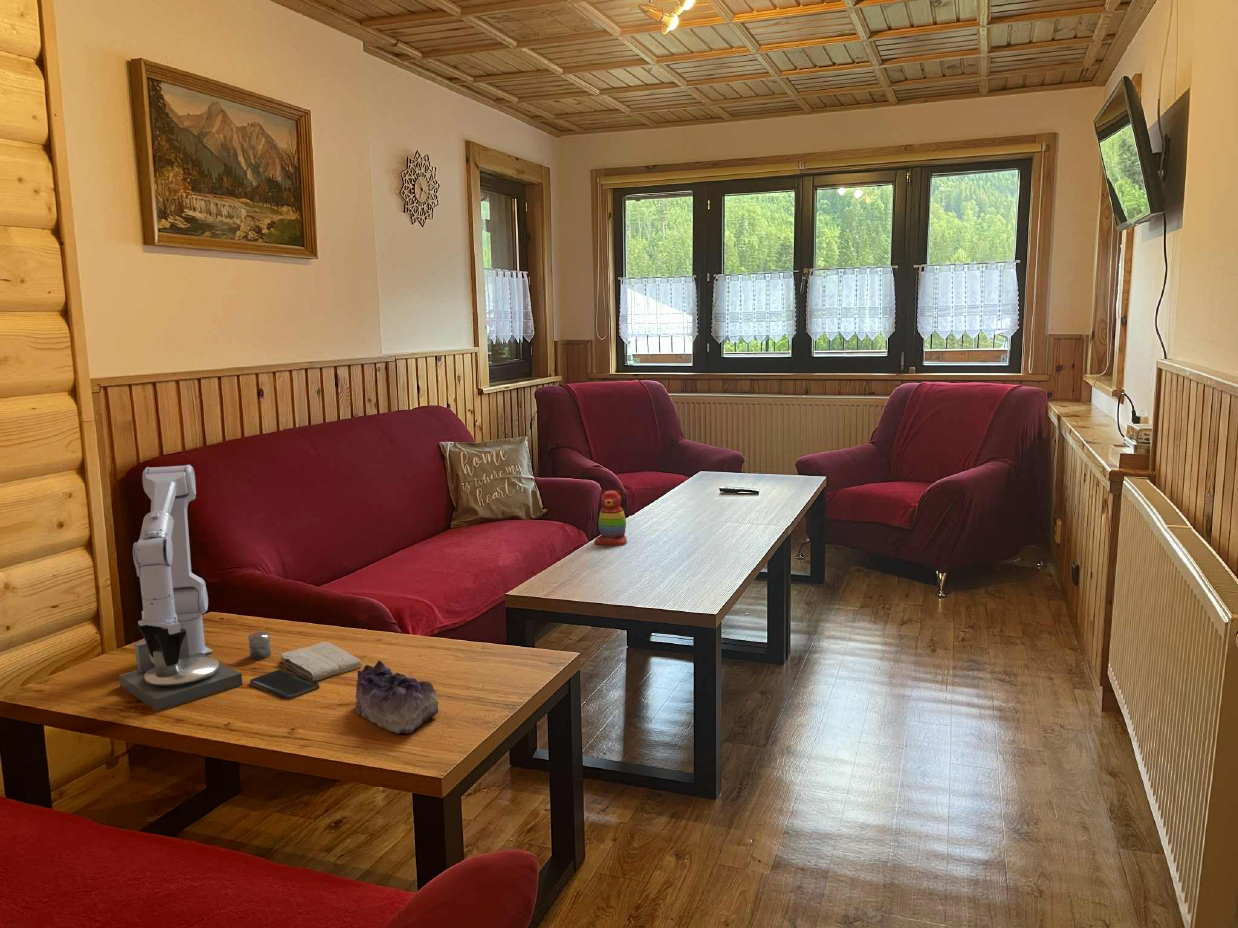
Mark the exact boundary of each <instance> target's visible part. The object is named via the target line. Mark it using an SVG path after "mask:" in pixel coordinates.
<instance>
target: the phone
mask: <svg viewBox="0 0 1238 928" xmlns="http://www.w3.org/2000/svg"><path fill="white" fill-rule="evenodd" d="M249 684H250V686H253V687H255V688H257V689H260V690H262V691H265V692H266V693H269V694H272V695H274V696H276V697H279V698H280V699H283V700H293V699H296V698H298V697H300V696H303V695H306V694H309V693H313V691H317V690H319V689H320V683H319V682H318V681H312V680H309V679H306V678H304V677H303V676H301V675H299V674H297V673H295V672H294V673H293V672H291V671H288V670H286V669H277V670H274V671H272V672H269V673H264V674H263V675H259V676H257V677H256V676H255V677H254V678H251V679H250V680H249Z"/></svg>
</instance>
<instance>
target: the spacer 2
mask: <svg viewBox="0 0 1238 928" xmlns="http://www.w3.org/2000/svg"><path fill="white" fill-rule="evenodd" d="M247 636H248V637H247V638H248V649H249V658H250V660H254V661H257V660H265V659H267V658H270V657H271V656H272V652H271V640H270V639H271V638H270V633H269V632H267V631H260V632H254V633H251V634H249V635H247Z"/></svg>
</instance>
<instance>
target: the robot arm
mask: <svg viewBox="0 0 1238 928" xmlns="http://www.w3.org/2000/svg"><path fill="white" fill-rule="evenodd" d="M142 486H143V491H144V492H145V494H146V495H147V497H148V498H149V499H150V501H151V502H150V512H148V513H147V514H145V516H144V517H143V521H142V526H141V529H140V530H141V531H140V535H139V538H138V541H137V542H134V543H133V546H132V557H133V558H132V559H133V563H134V566H135V571H136V576H137V578H138V577H139V583H140V593H141V601H142V611H141V620H138V621H137V623H138V625H136V629H137V630H138V631H139V632H140V634H141V635H142V636H143V639H144V641H146V644H147V646H148V649H149V652H150V654H151V656H152V657H153V658H154V655H153V651H154V650H156V649H158V648H161V650H162V653H163V657H164V661H165V663H166V665H167V666H171V665H174V664H178V661H179V654H180V648H181V644H182V641H183V639H184V637H185V635H186V633H187V640H188V650H189V655H193V654H196V653H200V652H201V653H203V654H205V655H207V654H210V653H213V649H211V648H209V647H207V646H206V643H205V633H204V625H203V615H204V614H205V613H206V612H207V611H208V607H209V596H208V591H207V587H206V581H205V580H204V579H203V578H202V577H200V576H198V575H196V574H194V573H193V572H192V562H191V548H190V536H189V535H190V534H189V520H188V507H189V506H188V505H189V503H190V502H192V501H194V500H196V495H197V488H196V486H197V485H196V475H195V470H194V467H193V466H192V465H191V464H186V465H173V466H158V467H157V466H155V467H150V466H147V467H145V469H144V470H143V472H142Z"/></svg>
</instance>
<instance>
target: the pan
mask: <svg viewBox="0 0 1238 928" xmlns="http://www.w3.org/2000/svg"><path fill="white" fill-rule="evenodd" d="M209 657H210V656H209ZM209 657H190V658H183V659H179V661H178V662H179V673H178V674H176V675H173V676H169V677H156V674H155V667H153V668H151V669H150V670H148V671H147V672H146V673H145V675H144V677H145V682H146V683H148V684H150V685H155V686H174V685H181V684H187V683H191V682H195V681H198V680H201V679H204V678H206V677H209V676H211V675H212V674H214V673H215V672H217V670H218V669H219V662H220V661H219V662H218V660H217V659H216V658H213V657H211V658H209Z"/></svg>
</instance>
